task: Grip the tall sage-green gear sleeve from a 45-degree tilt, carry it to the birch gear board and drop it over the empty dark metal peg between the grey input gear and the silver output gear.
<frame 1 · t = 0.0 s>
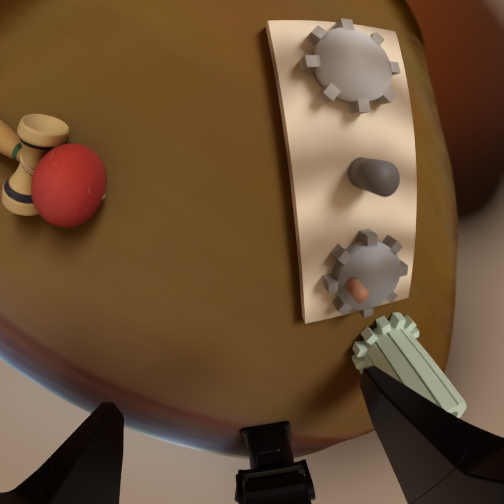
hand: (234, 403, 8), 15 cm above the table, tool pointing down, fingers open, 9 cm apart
gear sleeve: (383, 342, 28), on the table
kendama: (39, 152, 17), on the table
gear board: (355, 171, 20), on the table
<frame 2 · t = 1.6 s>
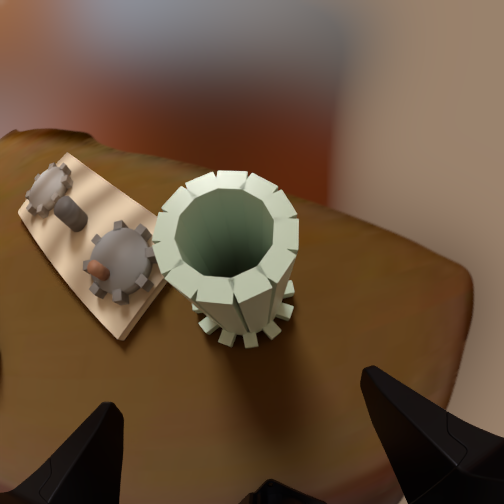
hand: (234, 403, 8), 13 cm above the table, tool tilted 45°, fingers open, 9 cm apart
gear sleeve: (243, 299, 23), on the table
gear board: (84, 227, 27), on the table
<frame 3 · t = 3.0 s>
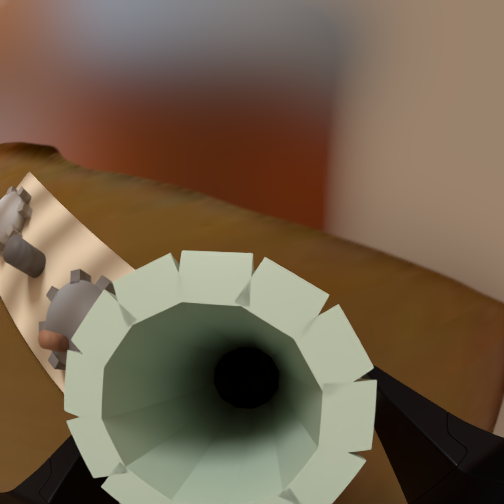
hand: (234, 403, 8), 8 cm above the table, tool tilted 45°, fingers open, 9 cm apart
gear sleeve: (246, 378, 16), on the table
gear board: (44, 269, 19), on the table
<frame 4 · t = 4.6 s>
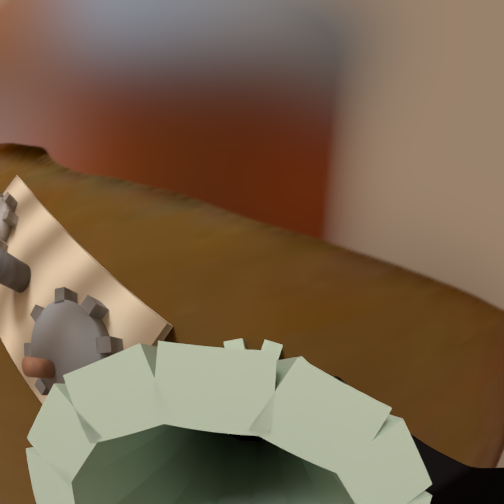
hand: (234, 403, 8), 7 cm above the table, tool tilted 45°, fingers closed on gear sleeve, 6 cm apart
gear sleeve: (250, 409, 14), on the table, touching gripper
gear board: (31, 282, 17), on the table
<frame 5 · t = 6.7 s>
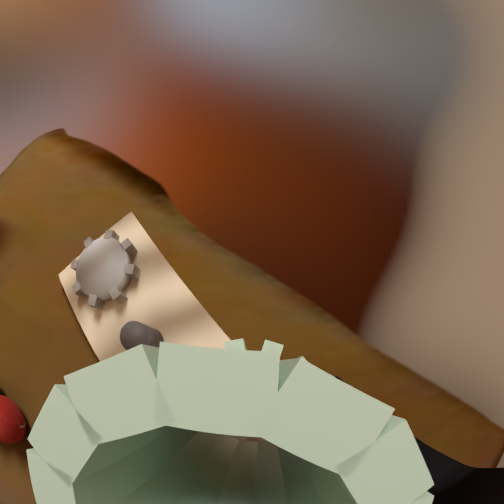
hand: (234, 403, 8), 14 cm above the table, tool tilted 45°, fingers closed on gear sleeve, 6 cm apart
gear sleeve: (250, 409, 14), point 8 cm above the table, touching gripper
gear board: (155, 343, 23), on the table
when the fingers open (9 cm above the table, at t = 9.0 s): gear sleeve drops 1 cm, resting on gear board.
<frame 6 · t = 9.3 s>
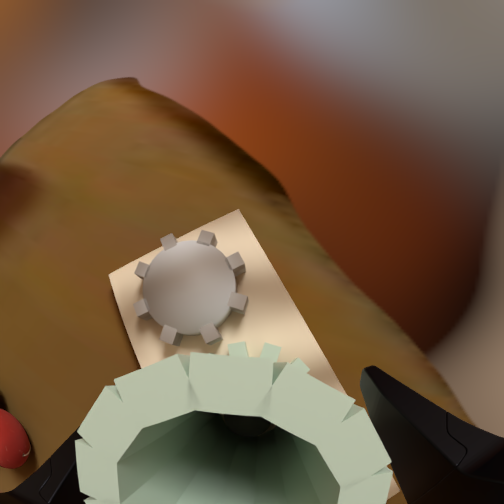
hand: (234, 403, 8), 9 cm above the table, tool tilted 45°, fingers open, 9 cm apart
gear sleeve: (251, 406, 15), point 1 cm above the table, touching gear board
gear board: (251, 402, 16), on the table
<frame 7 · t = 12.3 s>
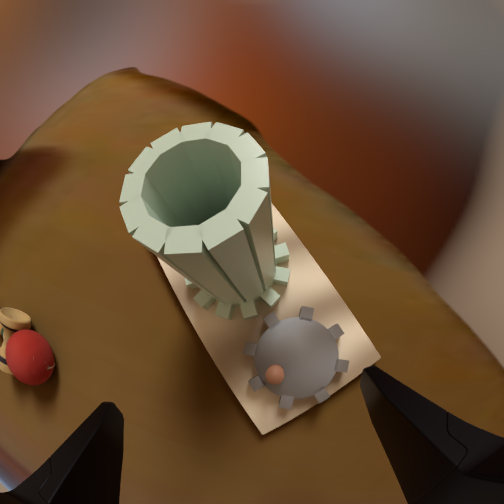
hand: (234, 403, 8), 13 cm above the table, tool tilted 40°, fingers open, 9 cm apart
gear sleeve: (238, 269, 22), point 1 cm above the table, touching gear board
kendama: (22, 337, 24), on the table
gear board: (240, 272, 24), on the table
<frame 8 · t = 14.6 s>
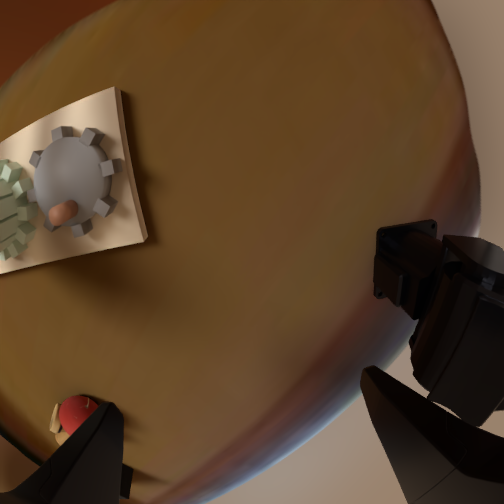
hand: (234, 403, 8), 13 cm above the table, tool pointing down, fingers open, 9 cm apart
gear sleeve: (5, 207, 16), point 1 cm above the table, touching gear board
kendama: (78, 415, 28), on the table
gear board: (13, 204, 17), on the table
digital camera: (106, 463, 34), on the table
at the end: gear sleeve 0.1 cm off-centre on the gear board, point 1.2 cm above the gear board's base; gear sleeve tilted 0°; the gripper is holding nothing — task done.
